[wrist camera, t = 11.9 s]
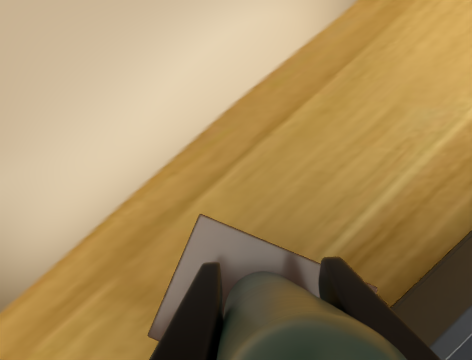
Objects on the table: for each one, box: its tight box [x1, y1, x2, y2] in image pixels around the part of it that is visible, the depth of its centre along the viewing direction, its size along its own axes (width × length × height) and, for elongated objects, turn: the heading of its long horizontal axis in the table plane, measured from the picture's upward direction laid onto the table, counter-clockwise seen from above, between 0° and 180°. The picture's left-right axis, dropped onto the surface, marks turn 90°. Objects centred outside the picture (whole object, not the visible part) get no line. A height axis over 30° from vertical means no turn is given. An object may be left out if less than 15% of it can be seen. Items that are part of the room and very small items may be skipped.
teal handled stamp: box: [148, 214, 407, 360], centre depth 9 cm, size 6×4×12 cm, turn 68°
